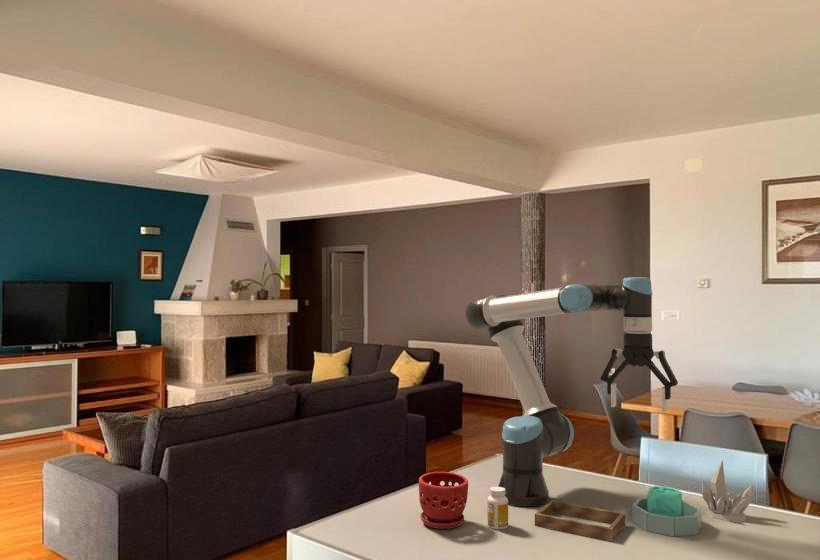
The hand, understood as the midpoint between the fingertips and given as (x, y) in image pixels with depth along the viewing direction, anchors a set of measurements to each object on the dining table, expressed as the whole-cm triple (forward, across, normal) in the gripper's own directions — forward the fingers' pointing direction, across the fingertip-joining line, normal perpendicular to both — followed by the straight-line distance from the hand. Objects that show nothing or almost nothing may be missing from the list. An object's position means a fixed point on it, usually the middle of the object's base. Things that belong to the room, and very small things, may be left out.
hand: (638, 408), depth 175 cm
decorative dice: (+28, +8, -5) cm, 30 cm away
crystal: (+29, +21, +11) cm, 37 cm away
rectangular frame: (+29, -11, -18) cm, 36 cm away
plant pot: (+29, -42, -36) cm, 62 cm away
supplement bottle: (+29, -29, -30) cm, 51 cm away
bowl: (+29, +8, -5) cm, 30 cm away
